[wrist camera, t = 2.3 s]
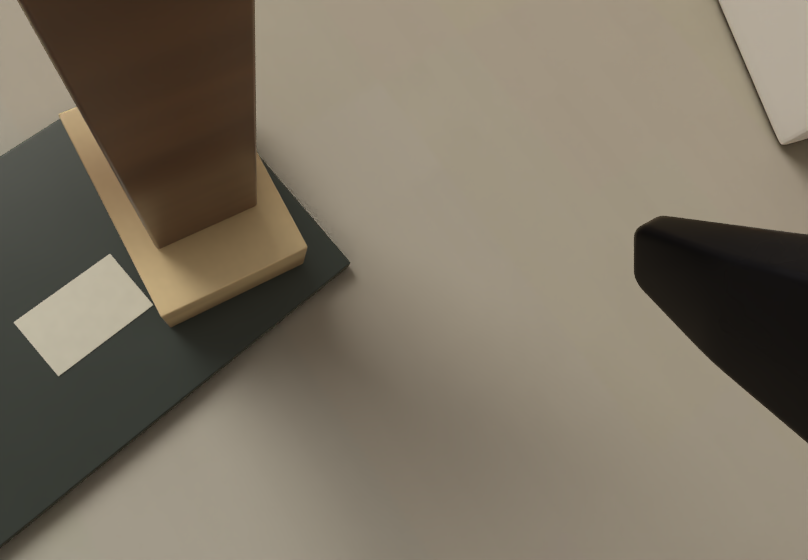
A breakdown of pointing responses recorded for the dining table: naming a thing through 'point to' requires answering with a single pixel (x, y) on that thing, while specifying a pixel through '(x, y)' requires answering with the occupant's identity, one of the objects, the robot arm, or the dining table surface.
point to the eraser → (173, 141)
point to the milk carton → (775, 58)
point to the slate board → (101, 328)
